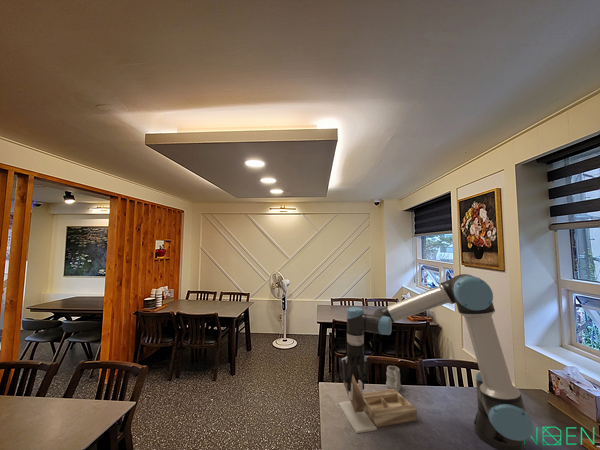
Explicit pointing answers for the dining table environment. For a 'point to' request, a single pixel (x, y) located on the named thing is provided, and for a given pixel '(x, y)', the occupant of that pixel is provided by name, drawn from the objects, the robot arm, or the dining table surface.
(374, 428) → the felt mat
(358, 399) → the walnut bar
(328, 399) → the dining table surface
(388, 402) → the pocket board
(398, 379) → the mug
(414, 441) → the dining table surface
